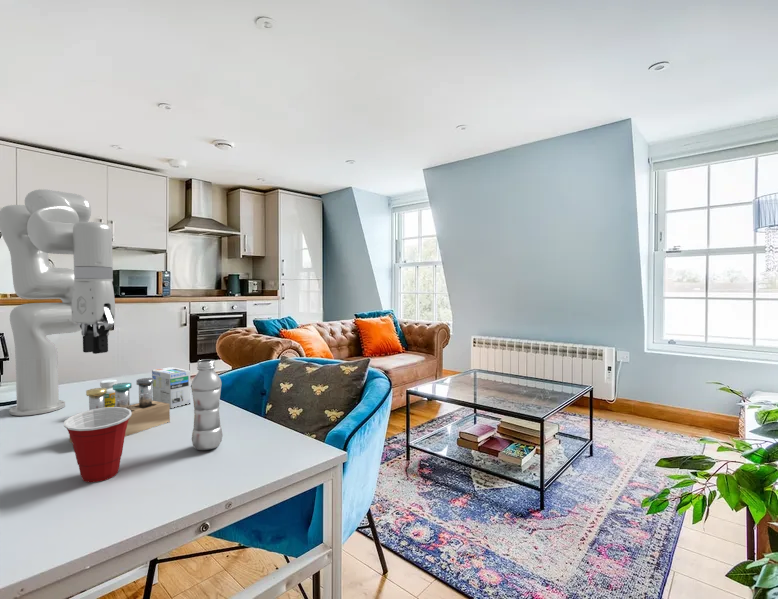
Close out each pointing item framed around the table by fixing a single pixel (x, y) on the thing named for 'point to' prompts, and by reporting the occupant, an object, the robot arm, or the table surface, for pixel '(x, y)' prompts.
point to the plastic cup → (98, 441)
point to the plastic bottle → (206, 406)
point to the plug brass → (96, 398)
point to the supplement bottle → (109, 392)
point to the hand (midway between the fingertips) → (95, 351)
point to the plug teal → (122, 395)
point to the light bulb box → (171, 386)
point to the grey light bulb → (145, 392)
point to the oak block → (146, 417)
